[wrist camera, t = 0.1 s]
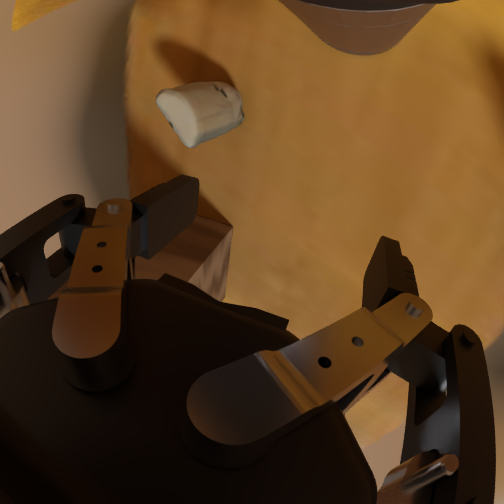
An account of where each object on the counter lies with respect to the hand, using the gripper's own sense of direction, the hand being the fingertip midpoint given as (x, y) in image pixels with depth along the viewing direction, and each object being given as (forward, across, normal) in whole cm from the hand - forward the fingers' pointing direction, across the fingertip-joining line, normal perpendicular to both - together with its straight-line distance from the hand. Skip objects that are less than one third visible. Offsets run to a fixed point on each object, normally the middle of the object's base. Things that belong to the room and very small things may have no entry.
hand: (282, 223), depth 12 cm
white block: (+17, +11, -2) cm, 21 cm away
